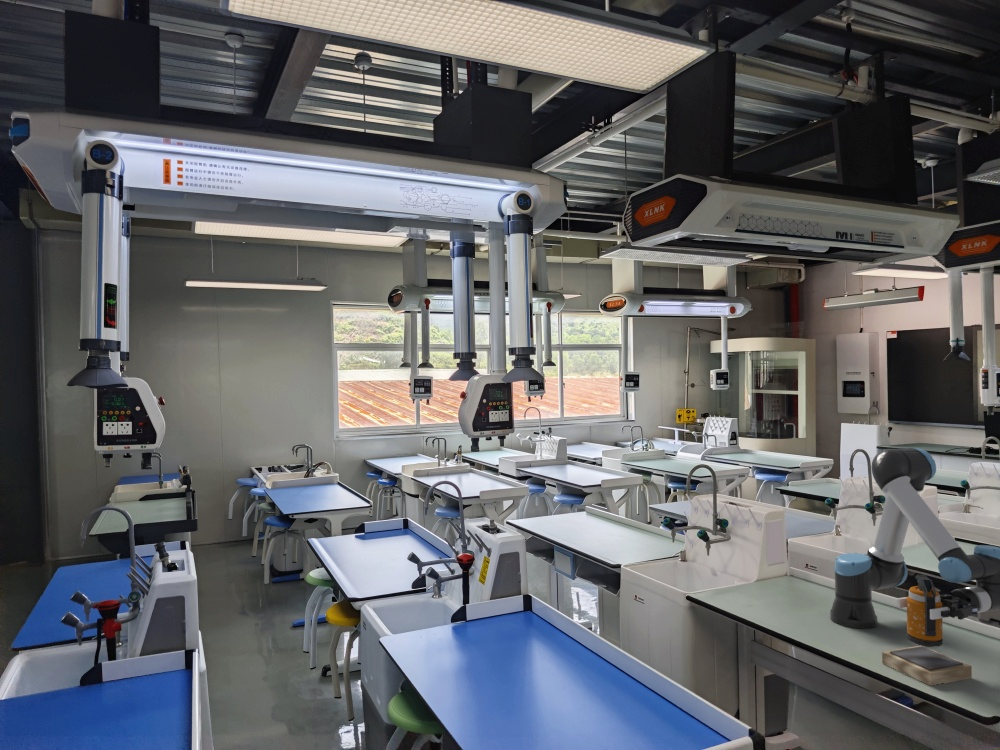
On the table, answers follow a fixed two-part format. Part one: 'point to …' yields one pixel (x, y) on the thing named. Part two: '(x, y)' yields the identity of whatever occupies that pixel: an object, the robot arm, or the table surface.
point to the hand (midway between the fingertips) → (914, 608)
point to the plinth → (927, 665)
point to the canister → (924, 614)
